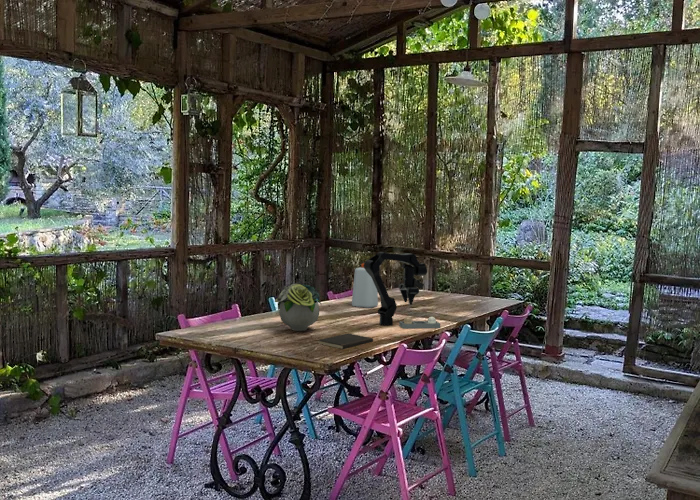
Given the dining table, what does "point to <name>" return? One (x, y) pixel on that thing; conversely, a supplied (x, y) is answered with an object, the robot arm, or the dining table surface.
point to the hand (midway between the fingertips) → (408, 303)
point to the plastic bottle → (364, 289)
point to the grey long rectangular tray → (419, 325)
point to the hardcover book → (345, 341)
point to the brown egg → (407, 320)
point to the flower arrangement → (298, 306)
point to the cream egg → (431, 320)
